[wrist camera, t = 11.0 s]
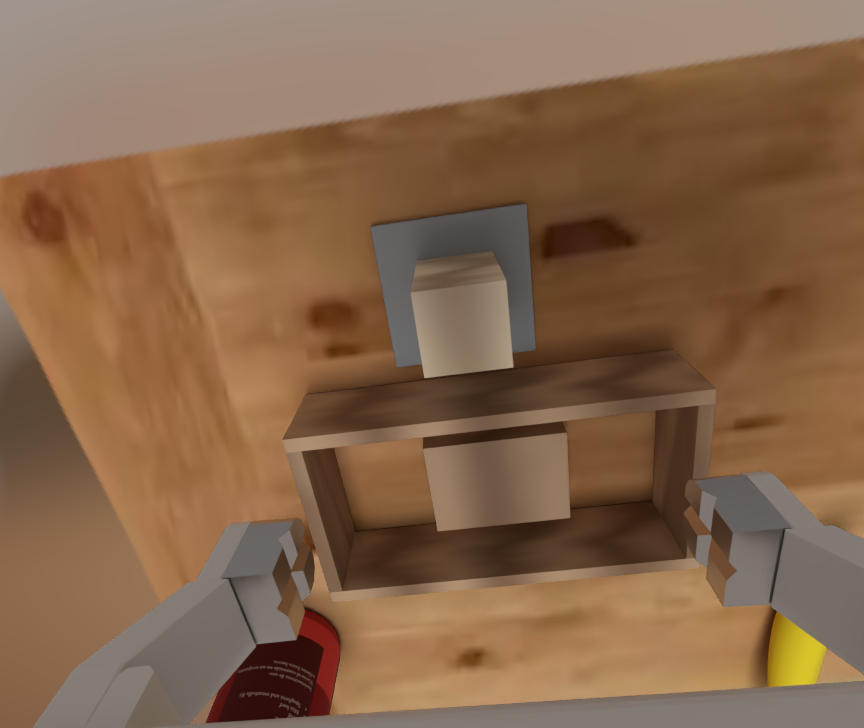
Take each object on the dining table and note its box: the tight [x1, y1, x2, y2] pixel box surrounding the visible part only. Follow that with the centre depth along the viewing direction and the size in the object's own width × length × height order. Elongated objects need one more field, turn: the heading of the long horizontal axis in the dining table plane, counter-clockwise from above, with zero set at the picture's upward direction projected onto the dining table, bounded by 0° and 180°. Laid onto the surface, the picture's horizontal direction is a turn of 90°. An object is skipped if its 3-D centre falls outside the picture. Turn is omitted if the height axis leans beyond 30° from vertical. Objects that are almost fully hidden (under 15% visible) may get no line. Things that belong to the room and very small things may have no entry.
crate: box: [282, 350, 717, 602], centre depth 30 cm, size 22×12×5 cm, turn 98°
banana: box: [768, 612, 827, 687], centre depth 34 cm, size 3×19×6 cm, turn 0°
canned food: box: [206, 609, 340, 723], centre depth 34 cm, size 8×8×11 cm
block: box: [411, 251, 513, 378], centre depth 24 cm, size 4×4×6 cm
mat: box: [370, 203, 536, 368], centre depth 27 cm, size 8×8×1 cm
